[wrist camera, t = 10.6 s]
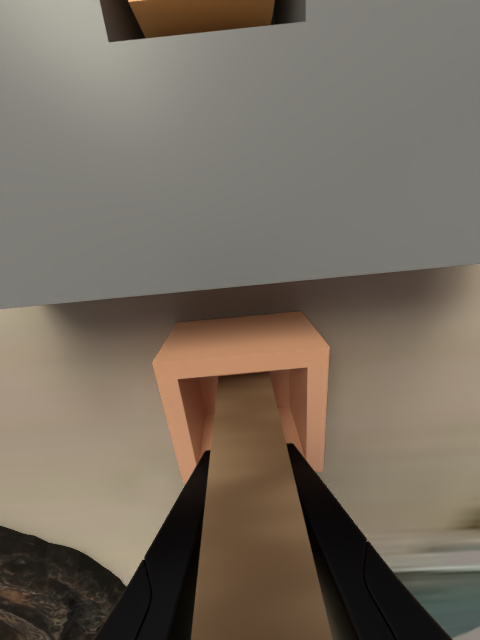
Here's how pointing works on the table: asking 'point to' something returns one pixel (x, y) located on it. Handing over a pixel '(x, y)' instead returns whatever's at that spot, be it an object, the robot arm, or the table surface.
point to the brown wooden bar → (254, 527)
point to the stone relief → (52, 590)
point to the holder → (243, 358)
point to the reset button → (199, 15)
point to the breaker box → (234, 147)
